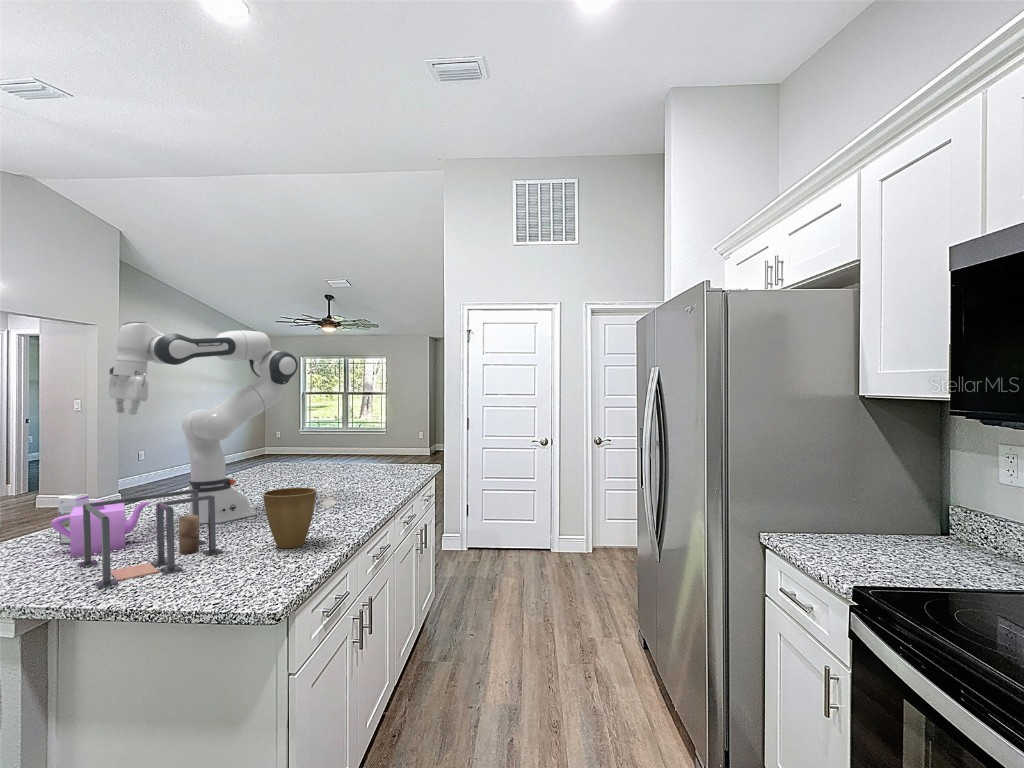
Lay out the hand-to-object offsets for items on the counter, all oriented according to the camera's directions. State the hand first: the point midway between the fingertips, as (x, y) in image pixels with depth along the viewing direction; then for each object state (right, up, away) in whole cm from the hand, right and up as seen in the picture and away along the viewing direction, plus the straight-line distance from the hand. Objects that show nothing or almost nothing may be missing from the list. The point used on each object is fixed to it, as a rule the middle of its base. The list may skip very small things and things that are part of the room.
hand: (126, 413), depth 192 cm
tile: (+27, -39, -38) cm, 61 cm away
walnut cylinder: (+31, -39, -20) cm, 54 cm away
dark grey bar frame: (+28, -39, -30) cm, 56 cm away
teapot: (+2, -40, -14) cm, 42 cm away
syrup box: (-11, -40, -7) cm, 42 cm away
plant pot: (+59, -38, -15) cm, 72 cm away
